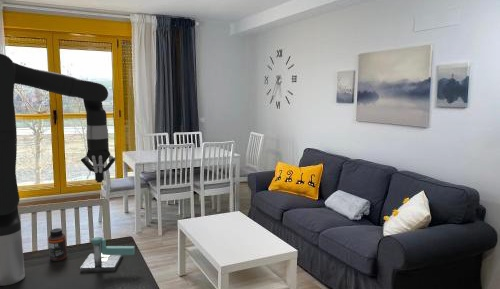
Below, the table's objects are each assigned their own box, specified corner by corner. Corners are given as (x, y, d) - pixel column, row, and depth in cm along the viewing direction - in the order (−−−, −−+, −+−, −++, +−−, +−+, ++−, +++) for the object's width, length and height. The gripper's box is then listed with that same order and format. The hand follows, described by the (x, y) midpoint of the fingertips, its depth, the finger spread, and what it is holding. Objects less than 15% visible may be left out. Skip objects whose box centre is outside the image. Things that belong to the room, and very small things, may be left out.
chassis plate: (79, 272, 141) (78, 245, 140) (90, 257, 153) (89, 232, 151) (114, 271, 142) (113, 244, 141) (122, 256, 154) (121, 231, 152)
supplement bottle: (62, 253, 156) (60, 225, 154) (69, 257, 152) (68, 229, 151) (46, 258, 152) (44, 230, 150) (54, 263, 148) (52, 234, 146)
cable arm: (94, 251, 144) (93, 237, 143) (135, 251, 144) (135, 237, 144) (89, 256, 140) (89, 241, 139) (132, 256, 141) (132, 241, 140)
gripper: (75, 138, 145) (78, 184, 148) (112, 138, 146) (115, 184, 149) (82, 135, 152) (85, 179, 155) (118, 135, 153) (119, 179, 156)
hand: (99, 181), depth 152 cm, fingers closed
